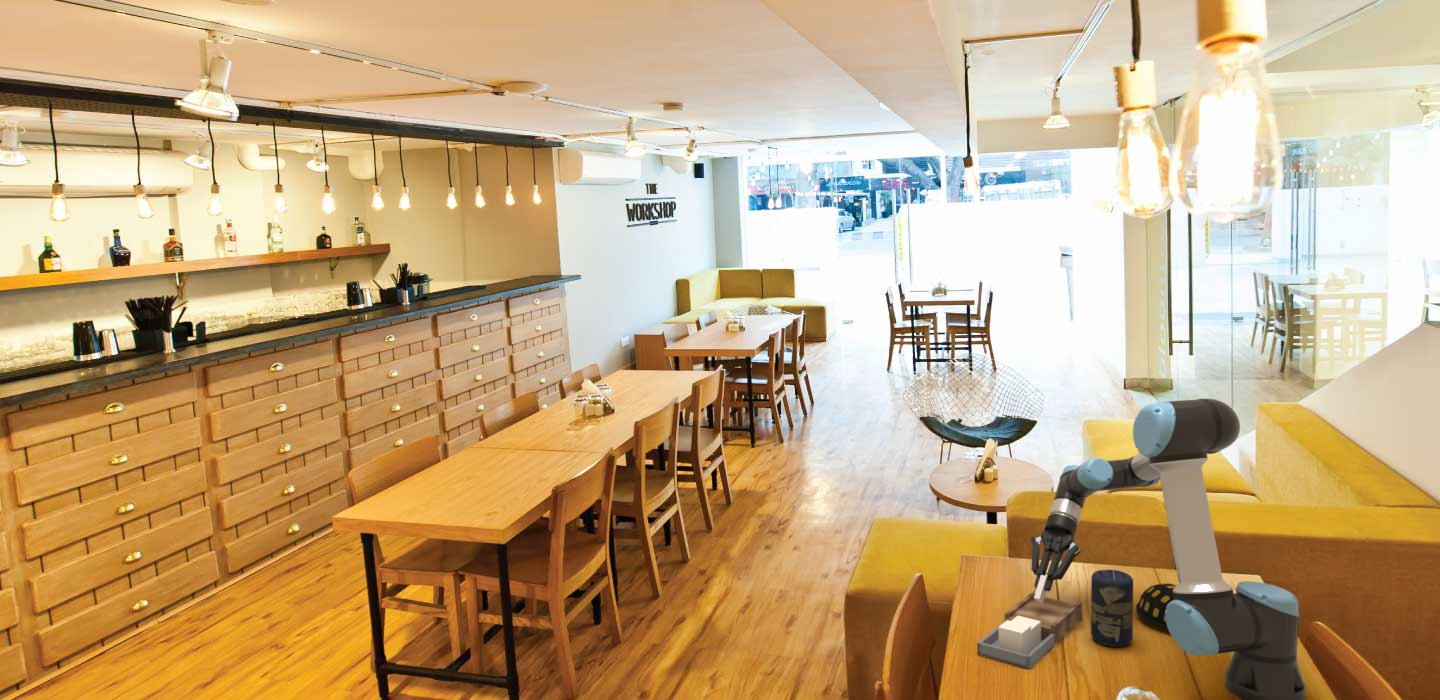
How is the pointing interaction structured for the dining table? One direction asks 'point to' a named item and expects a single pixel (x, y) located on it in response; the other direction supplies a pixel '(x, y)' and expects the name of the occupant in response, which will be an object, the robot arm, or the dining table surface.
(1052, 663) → the dining table surface
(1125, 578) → the canister
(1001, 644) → the block
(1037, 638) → the block
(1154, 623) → the yellow spotted black dome
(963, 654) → the dining table surface
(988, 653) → the tray
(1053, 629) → the board
